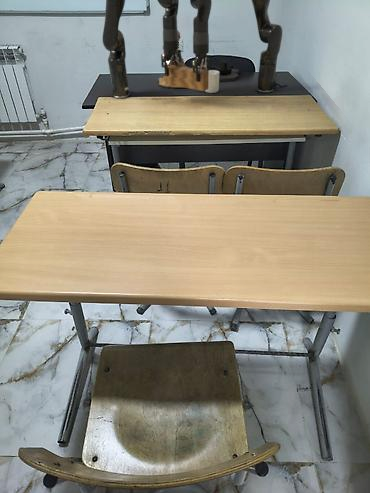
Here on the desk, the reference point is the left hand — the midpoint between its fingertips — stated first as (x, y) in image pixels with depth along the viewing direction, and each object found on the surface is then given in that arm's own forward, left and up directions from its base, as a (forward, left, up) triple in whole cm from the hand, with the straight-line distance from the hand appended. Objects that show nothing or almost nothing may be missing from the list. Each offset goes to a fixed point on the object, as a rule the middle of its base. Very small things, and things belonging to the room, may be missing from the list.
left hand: (172, 73), depth 188 cm
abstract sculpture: (-27, +47, -14) cm, 56 cm away
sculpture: (-31, +17, -14) cm, 38 cm away
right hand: (+16, +9, -1) cm, 18 cm away
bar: (+8, +5, -5) cm, 10 cm away
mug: (-5, +25, -14) cm, 29 cm away
